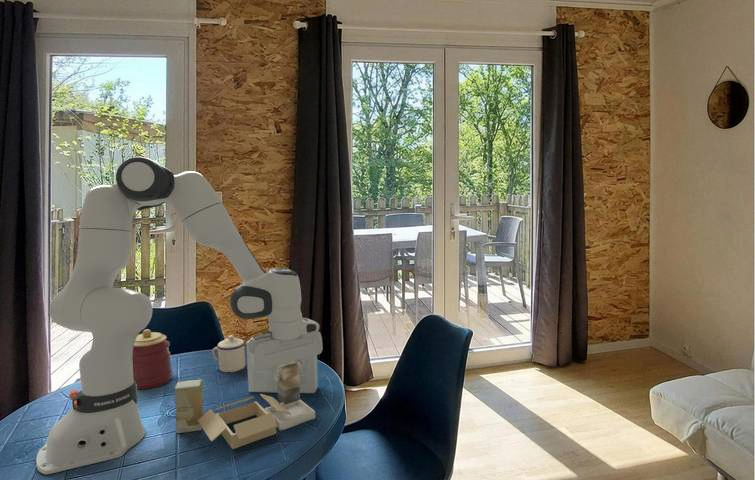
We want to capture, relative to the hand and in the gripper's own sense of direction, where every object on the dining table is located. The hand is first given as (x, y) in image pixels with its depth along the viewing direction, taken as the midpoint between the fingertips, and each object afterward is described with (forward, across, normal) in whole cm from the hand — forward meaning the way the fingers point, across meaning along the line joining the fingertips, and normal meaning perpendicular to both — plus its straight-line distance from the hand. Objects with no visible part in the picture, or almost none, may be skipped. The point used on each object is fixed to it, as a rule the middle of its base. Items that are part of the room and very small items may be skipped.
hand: (288, 377), depth 120 cm
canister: (+11, -26, +50) cm, 57 cm away
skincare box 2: (+12, +6, +16) cm, 21 cm away
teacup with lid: (+12, -2, +44) cm, 46 cm away
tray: (+11, 0, -1) cm, 11 cm away
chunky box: (+6, 0, 0) cm, 6 cm away
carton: (+11, -12, 0) cm, 17 cm away
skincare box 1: (+11, -23, +11) cm, 28 cm away
